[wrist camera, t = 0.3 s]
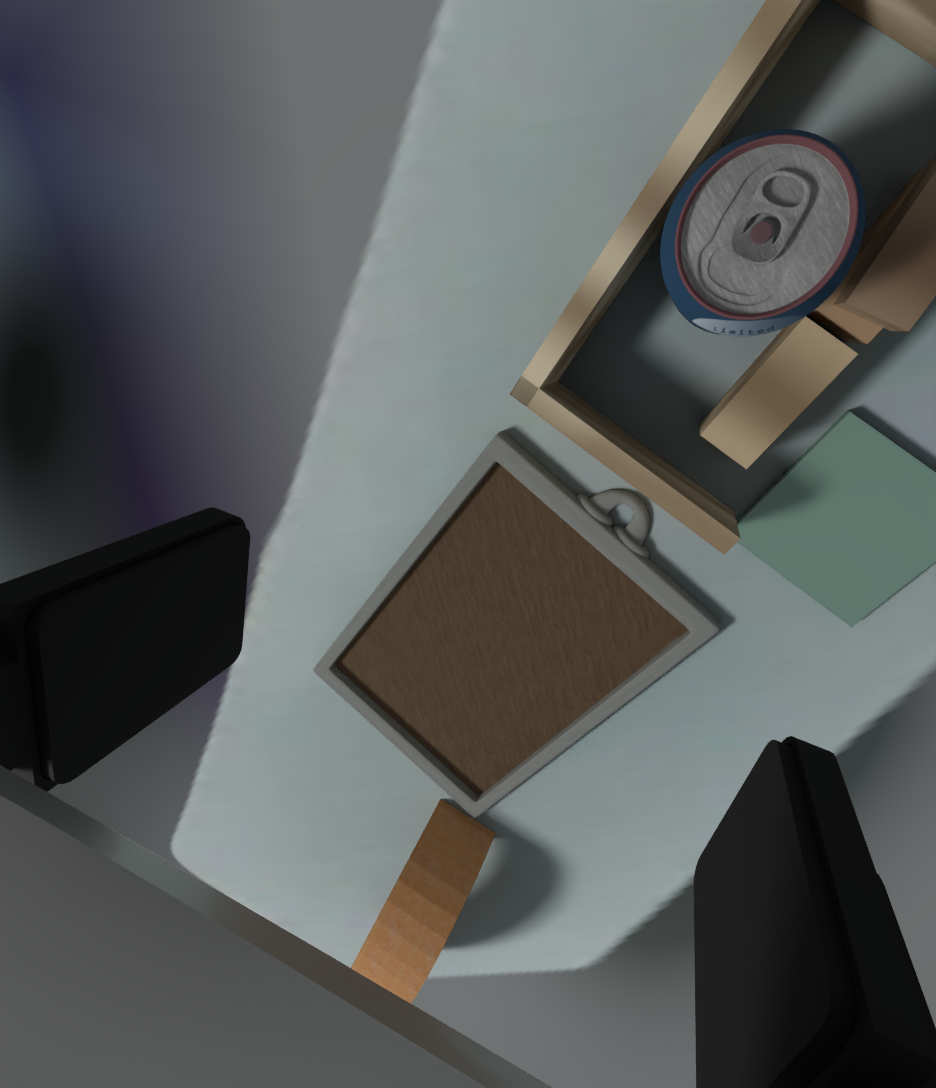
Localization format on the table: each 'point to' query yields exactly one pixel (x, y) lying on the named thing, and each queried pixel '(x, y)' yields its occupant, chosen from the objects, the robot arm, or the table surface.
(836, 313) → the offcut
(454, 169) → the table surface
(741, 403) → the offcut
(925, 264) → the offcut top
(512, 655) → the framed cork board
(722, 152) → the soda can
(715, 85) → the enclosure
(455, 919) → the arch
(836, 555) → the mat
